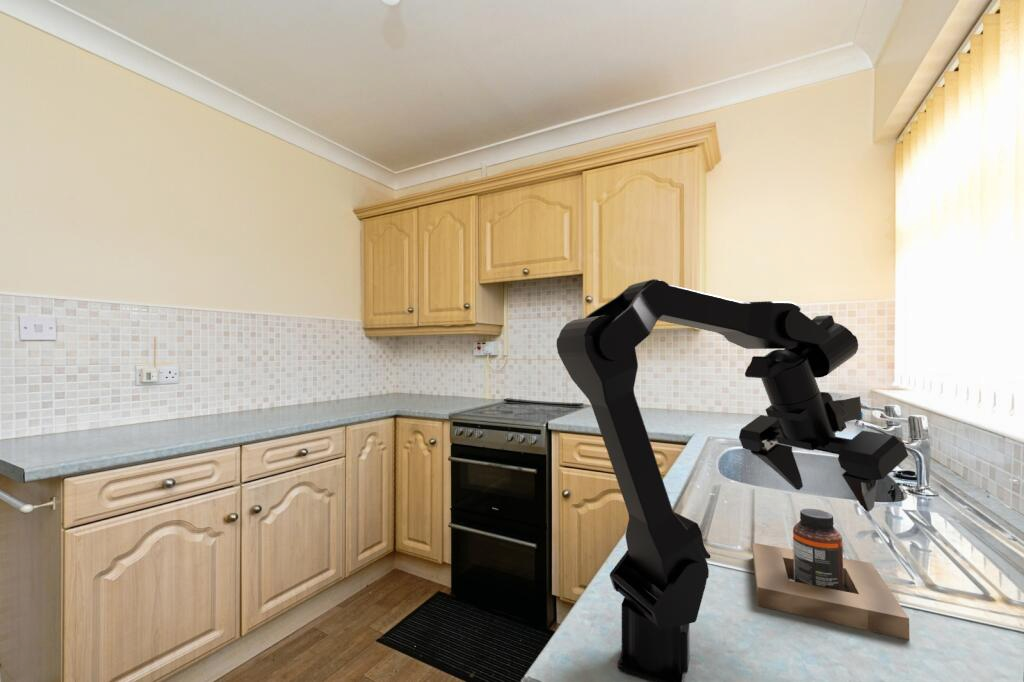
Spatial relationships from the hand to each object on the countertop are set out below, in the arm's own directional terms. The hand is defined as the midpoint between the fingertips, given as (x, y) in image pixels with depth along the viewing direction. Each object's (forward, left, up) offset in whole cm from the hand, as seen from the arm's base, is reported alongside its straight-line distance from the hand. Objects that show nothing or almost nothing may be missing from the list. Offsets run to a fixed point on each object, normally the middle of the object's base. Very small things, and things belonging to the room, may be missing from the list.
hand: (832, 498), depth 60 cm
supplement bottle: (-1, +5, -15) cm, 16 cm away
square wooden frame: (-1, +5, -15) cm, 16 cm away
